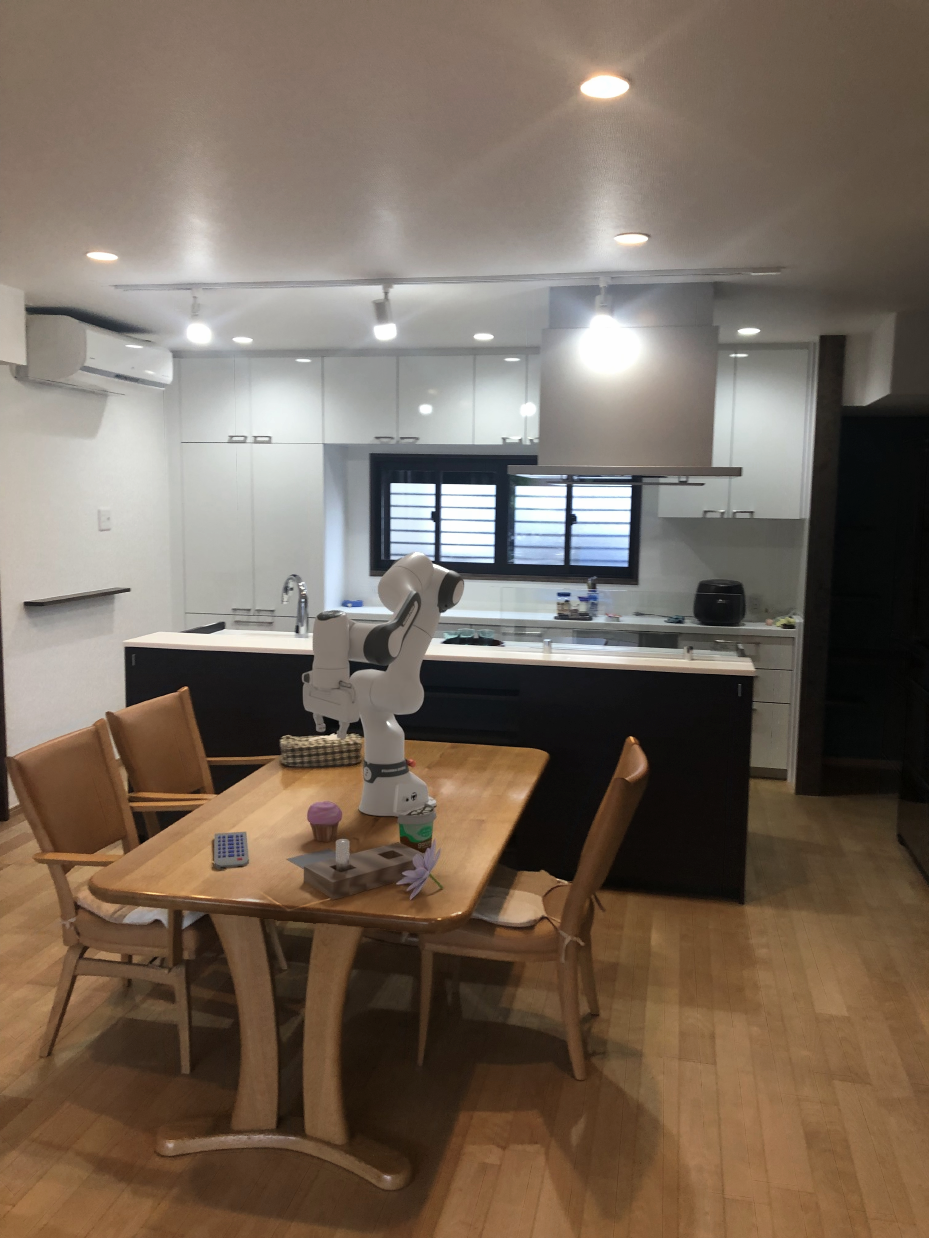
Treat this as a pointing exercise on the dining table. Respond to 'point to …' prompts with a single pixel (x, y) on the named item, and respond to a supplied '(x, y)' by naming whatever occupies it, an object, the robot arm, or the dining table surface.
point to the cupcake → (324, 820)
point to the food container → (417, 828)
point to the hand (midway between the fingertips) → (331, 734)
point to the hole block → (362, 870)
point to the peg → (342, 855)
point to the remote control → (230, 850)
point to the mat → (313, 857)
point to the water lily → (421, 870)
